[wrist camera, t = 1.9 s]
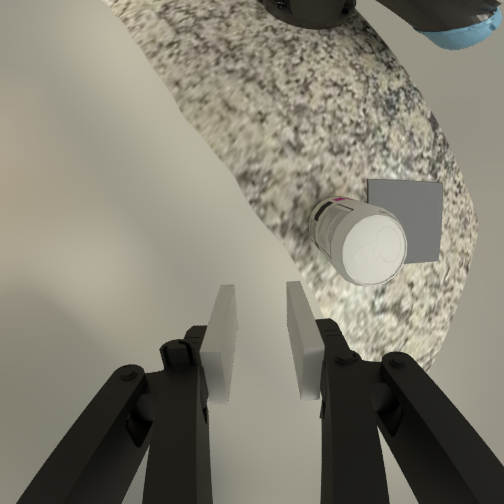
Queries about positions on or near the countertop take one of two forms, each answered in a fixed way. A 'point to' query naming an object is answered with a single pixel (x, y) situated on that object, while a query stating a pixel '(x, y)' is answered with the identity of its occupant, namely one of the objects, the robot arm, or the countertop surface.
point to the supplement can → (359, 240)
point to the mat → (412, 213)
